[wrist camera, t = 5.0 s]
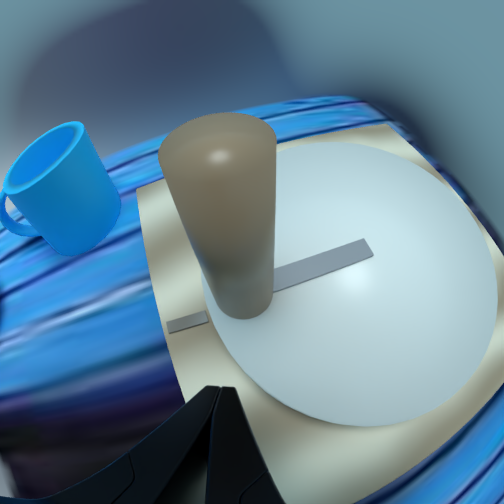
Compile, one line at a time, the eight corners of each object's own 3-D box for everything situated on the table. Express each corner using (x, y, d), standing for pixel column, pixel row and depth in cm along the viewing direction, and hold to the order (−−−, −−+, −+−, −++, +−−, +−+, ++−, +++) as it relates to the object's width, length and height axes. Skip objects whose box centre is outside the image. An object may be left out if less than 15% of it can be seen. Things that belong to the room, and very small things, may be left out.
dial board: (530, 334, 13) (542, 327, 12) (251, 531, 9) (249, 542, 8) (383, 134, 27) (386, 122, 25) (141, 201, 23) (135, 187, 21)
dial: (391, 142, 23) (417, 46, 14) (517, 324, 13) (610, 248, 4) (179, 191, 20) (140, 63, 11) (271, 483, 10) (277, 609, 1)
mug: (120, 176, 25) (90, 109, 18) (123, 237, 21) (76, 162, 14) (31, 217, 23) (-8, 167, 16) (21, 280, 19) (-34, 230, 12)
